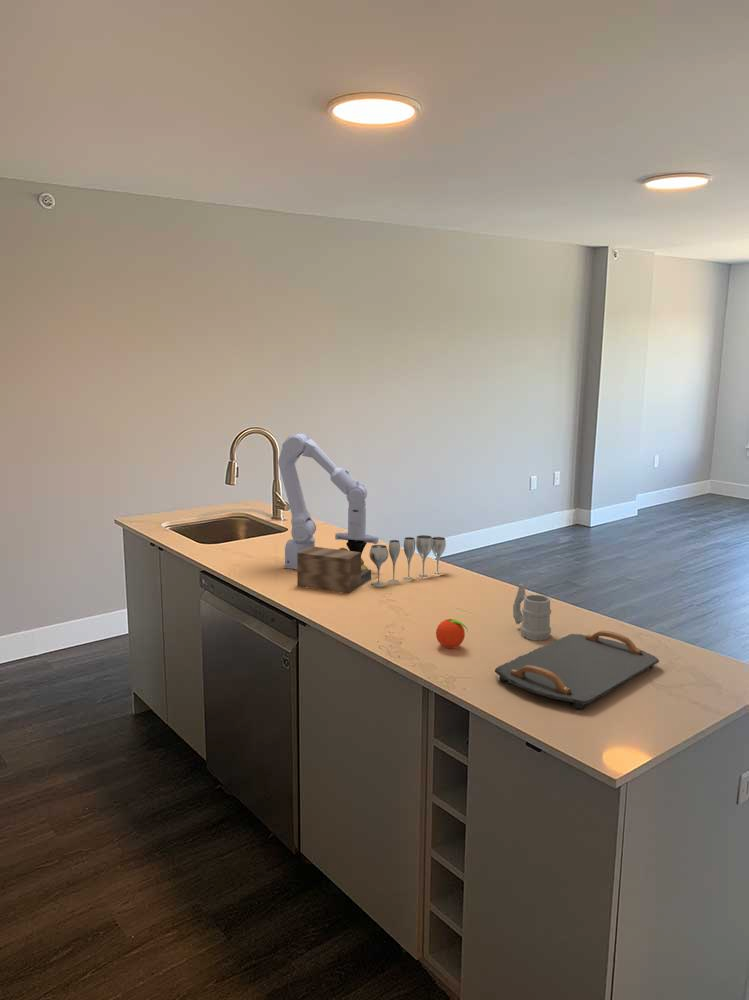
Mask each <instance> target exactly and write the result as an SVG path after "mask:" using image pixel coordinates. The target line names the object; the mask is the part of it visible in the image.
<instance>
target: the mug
mask: <svg viewBox="0 0 749 1000" xmlns="http://www.w3.org/2000/svg"><path fill="white" fill-rule="evenodd" d="M522 602H523V606H522V609H521V603H522ZM512 605H513V606H512V611H513V612H512V613H513V614H512V616H513V619H514V621H515V624H516V625H519V624H520V623H521V625H520V626H519V627H520V628H519V630H520V635H521V637H522V638H524V639H525V638H526V639H527V640H529V641H530V640H531V641H540V642H541V641H546V640H548V639H549V638H550V634H551V633H552V627H551V622H550V620H551V618H550V617H551V615H552V610H551V598H550V597H548V596H546V595H542V594H526V589H525V586H524V584H523V583H519V584H518V589H517V593H516V597H515V599H514V603H513V604H512Z"/></svg>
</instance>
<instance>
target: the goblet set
mask: <svg viewBox="0 0 749 1000" xmlns="http://www.w3.org/2000/svg"><path fill="white" fill-rule="evenodd" d="M446 546H447V541H446V538H445V537H441V536H434V537H432V536H431V535H422V534H421V535H417V536H416V540H415V538H414V537H409V536H407V537H404V539H403V552H404V555H405V557H406V559H407V571H408V573H407V576H406V577H402V580H403V579H404V580H403V581H405V580H413V578H414V577H410V566H411V561H412V558H413V556H414V553H415V551H417V553H418V554H419V556H420V558H421V561H422V574H423V575H421V574H418V575H419V577H421V578H423V577H428V574H425V564H426V563H425V561H426V559H427V557H428V556H429V554H431V551H432V553H433V555H434V556H435V559H436V571H435V573H434V574H438V575H439V574H441V573H442V572H441V573H439V561H440V558H441V557H442V555H443V554H444V552H445V550H446ZM400 552H401V543H400V540H398V539H396V540H395V539H391V540H389V543H388V547H387V546H386V545H384V544H373V545H371V547H370V550H369V555H368V556H369V558H370V560H371V562H372V563H374V565H375V566H376V568H377V581H374V582H371V583H370V585H371V586H372V587H385V586H386V585H387V584H386V583H385V582H382V581H380V570H381V567H382V566H383V564H384V563H385V562H386V561H387V560H388V558H389V556H390V559H391V562H392V569H393V570H392V571H393V572H392V574H393V576H392V579H389V580H387V583H388V582H389V584H393V583H395V584H399V583H400V582H399V581H400V580H397V579H395V569H396V562H397V561H398V558H399V555H400ZM421 578H420V579H421ZM413 581H414V580H413Z"/></svg>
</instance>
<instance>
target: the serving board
mask: <svg viewBox="0 0 749 1000" xmlns="http://www.w3.org/2000/svg"><path fill="white" fill-rule="evenodd" d="M604 637H606V638H604ZM607 638H610V639H607ZM616 640H618V641H616ZM659 662H660V659H659V658H658V657H656V656H655V655H653V654H651V653H648V652H647V651H644V650H643V649H640V648H638V647H637V646H636V644H635V643H634V642H633V641H632V640H631V639H630V638H629V637H627V636H625V635H623V634H621V633H617V632H614V631H608V630H599V631H596V632H594V633H593V634H586V635H585V634H581V633H572V634H568V635H566V636H563V637H560V638H559V639H556V640H554V641H551V642H549V643H548V644H546V645H544V646H540V647H538V648H536V649H533V650H532V651H529V652H528V653H526V654H523V655H520V656H518V657H517V658H515V659H512V660H510V661H508V662H506V663H504V664H501V665H499V666H497V667H496V668H495V669H494V672H495V673H496V674H497V675H498V676H499V677H498V680H499V682H500V683H502V684H507V683H510V684H512V685H514V686H516V687H518V688H520V689H523V690H525V691H528V692H530V693H534V694H536V695H538V696H539V695H540V696H544V697H545V698H550V699H553V700H554V699H555V700H559V701H563V702H568V703H572V709H573V710H574V711H579V712H580V711H583V709H584V705H588V704H590V703H592V702H594V701H595V700H598V699H599V698H601V697H602V696H604V695H605V694H607V693H609V692H612V691H613V690H614V689H615V688H617V687H619V686H622V685H623V684H625V683H626V682H628V681H629V680H632V679H633V678H635V677H637V676H638V675H640V674H641V673H643V672H645V671H646V670H649V669H650V670H652V669H653V668H654V666H655V665H656V664H659Z"/></svg>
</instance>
